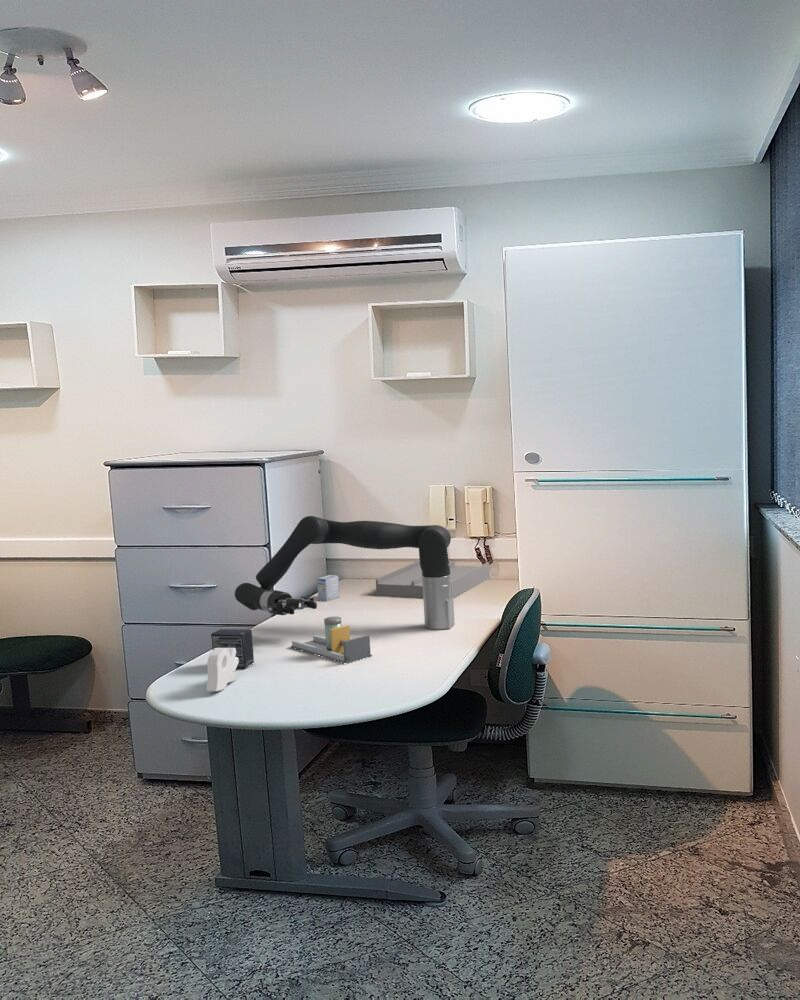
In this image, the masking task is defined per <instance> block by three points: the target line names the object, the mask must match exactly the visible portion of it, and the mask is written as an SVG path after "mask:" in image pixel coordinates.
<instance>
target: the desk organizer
mask: <svg viewBox="0 0 800 1000" xmlns="http://www.w3.org/2000/svg"><path fill="white" fill-rule="evenodd" d="M455 562H456V561H454V560H453V561H451V562H448V565H449V567H450V579H451V596H453V600H455V599H456V598H458V597H459V596H461V595H463V594H465V593H466V592H468V591H470V590H472V589H473V588H475V587H478V586H479V585H480V584H482V583H484V582H486V581H488V580H490V577H491V574H490V562H485V563H484V564H481V565H480V566H475V565H474V566H473V565H472V566H471V565H469V566H467V565H455ZM375 591H376V593H375V594H376V597H389V598H390V597H391V598H409V599H412V598H413V599H423V582H422V570H421V567H420V561H419V560H417V561H414V562H413V563H410V564H408V565H405V566H403V567H401V568H398V569H396V570H394V571H392V572H389V573H387V574H385V575H382V576H380V577H378V578H376V579H375Z"/></svg>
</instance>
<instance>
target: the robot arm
mask: <svg viewBox="0 0 800 1000" xmlns="http://www.w3.org/2000/svg"><path fill="white" fill-rule="evenodd" d="M451 537H452V536H451V534H450V532H449V530H448V529H447V528H446V527H443V525H442V526H441V525H439V524H438V525H437V524H431V525H407V524H401V523H395V522H394V523H392V522H385V521H377V520H356V521H336V520H330V519H325V518H322V517H319V516H315V515H307V516H305V517H303V518H301V520H299V522H298V523H297V525H296V527H294V529H293V531H292V532H291V534H290V535H289V537H288V538H287V540H286V541H285V542H284V544H282V546H281V547H280V548H279V549H278V551H276V553H275V554H274V555H273V556H272V558H271V559H270V560H269V561H267V563H266V564H265V565H264V566H263V567H262V568H261V569H260V570H259V571H258V572H257V574H256V575H255V579H256V581H257V582H258V584H259V585H260V586H257V585H255V584H253V583H250V582H243V583H241V584H239V585H238V586H236V588H235V590H234V598H235V600H236V601H237V602H238V603H239V604H241V605H242V606H245V607H246V608H247V609H248V610H250V611H257V610H261V611H264V612H267V613H271V614H273V615H277V616H278V615H279V616H286V615H294V614H295V611H296V610H298V611H299V610H304V609H313V610H316V609H318V604H317V601H315V598H314V597H309V596H301V597H298V598H297V597H292V595H291V594H290V593H289V592H286V591H283V590H276V589H273V588H274V586H276V585H277V584H278V582H279V581H280V580H281V579H282V578H283V577H284V576H285V575H286V574H287V572H288V570H289V569H290V568H291V566H292V564H293V563H294V562H295V560H296V558H297V557H298V556H299V555H300V554H301V552H302V551H303V550H305V549H306V548H307V547H308V546H310V545H319V544H321V545H322V544H323V545H325V544H341V545H347V546H351V547H356V548H361V549H371V550H391V549H392V550H393V549H400V548H401V549H402V548H414V549H418V556H419V558H418V559H419V560H420V567H421V570H422V582H423V598H422V601H423V616H424V618H423V619H424V620H423V621H424V628H425V629H429V630H447V629H451V628H452V627H453V626H455V624H456V623H455V605H454V599H453V596H451V579H450V567H449V565H448V563H449V561H448V560H449V559H448V548H449V545H450V543H451V540H452V538H451Z"/></svg>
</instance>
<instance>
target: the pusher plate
mask: <svg viewBox="0 0 800 1000" xmlns="http://www.w3.org/2000/svg"><path fill="white" fill-rule="evenodd" d="M341 626H342V625H341ZM350 629H351V627H350V625H349V624H346V625H343V626H342V627H338V628H334V629H330V633H331V649H332V652H336V653H339V654H342V653H344V648H343V641H346V640H350V639H351V630H350Z"/></svg>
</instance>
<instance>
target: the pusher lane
mask: <svg viewBox="0 0 800 1000" xmlns="http://www.w3.org/2000/svg"><path fill="white" fill-rule="evenodd" d="M370 636H371V635H369V634H366V635H362V636H359V637H355V638H354V637H353V638H350V640H346V641H343V648H344V653H342V654H339V653H336V652H332V651H329V650H326V637H324V636H320V635H317V634H314V635H313V636H312V640H309V641H305V642H301V641H298V640H291V646H290V648H291V647H293V648H292V649H294V648H296V649H295V650H297V649H299V650H298V651H300V650H303V651H302V652H304V651H306V652H305V653H307V652H309V653H308V654H310V653H313V654H312V655H314V654H316V655H315V656H317V655H320V656H323V657H326V658H325V659H327V658H329V659H328V660H330V659H332V660H331V661H333V660H336V661H339V662H338V663H340V662H342V663H341V664H343V663H348V664H351V663H354V662H353V661H355V662H357V661H356V660H358V661H360V659H362V660H364V659H363V658H365V659H367V658H366V657H369V658H371V657H370V656H372V657H373V654H372V653H371V639H370V638H371V637H370ZM320 656H319V657H320ZM323 657H322V658H323ZM336 661H335V662H336ZM350 662H351V663H350Z"/></svg>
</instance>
